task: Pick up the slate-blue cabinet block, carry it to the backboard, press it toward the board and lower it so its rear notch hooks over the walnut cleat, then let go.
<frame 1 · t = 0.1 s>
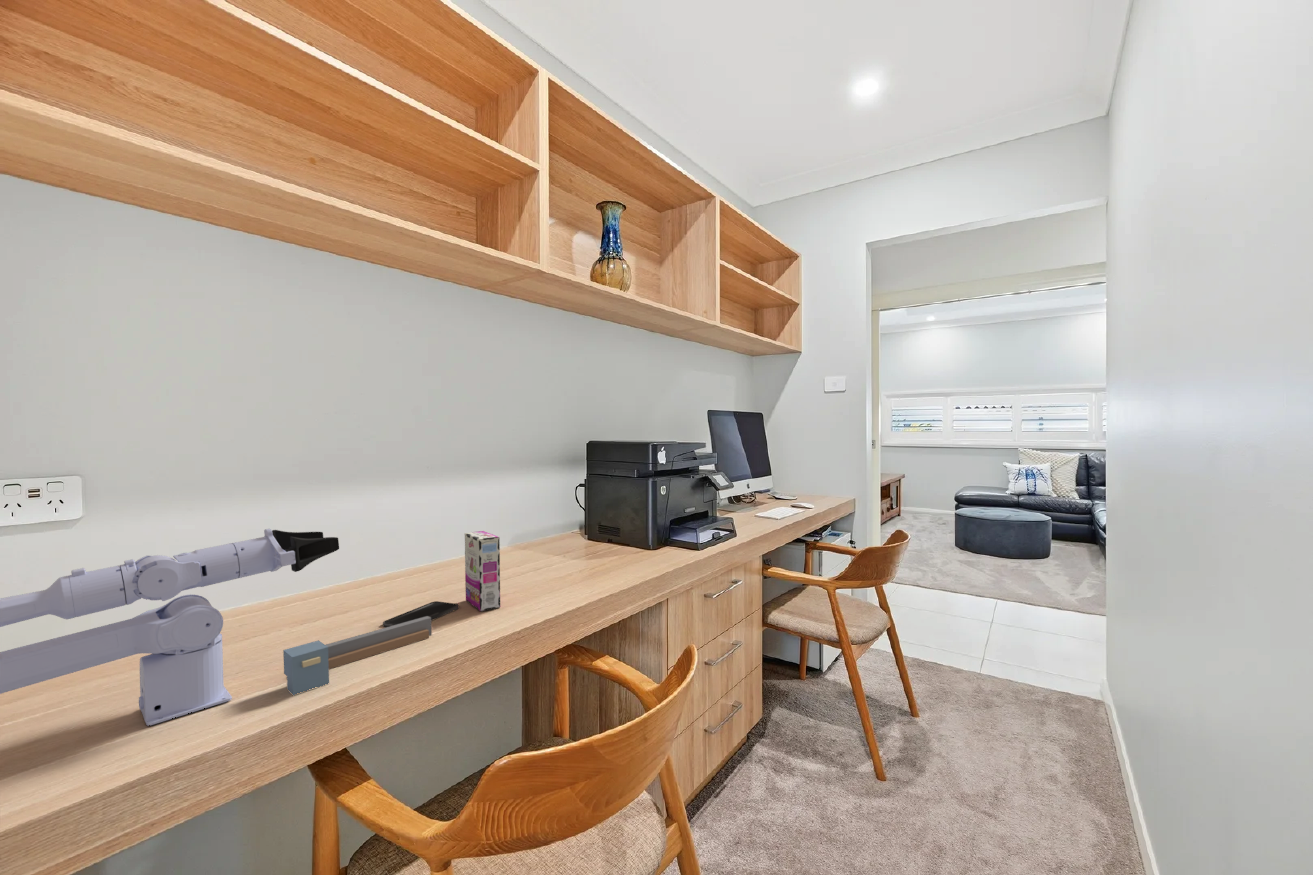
hand: (330, 540, 95), 22 cm above the table, tool horizontal, fingers open, 7 cm apart
cabinet: (306, 685, 86), on the table
phone: (422, 619, 118), on the table
candy bar box: (483, 604, 126), on the table
backboard: (377, 650, 100), on the table
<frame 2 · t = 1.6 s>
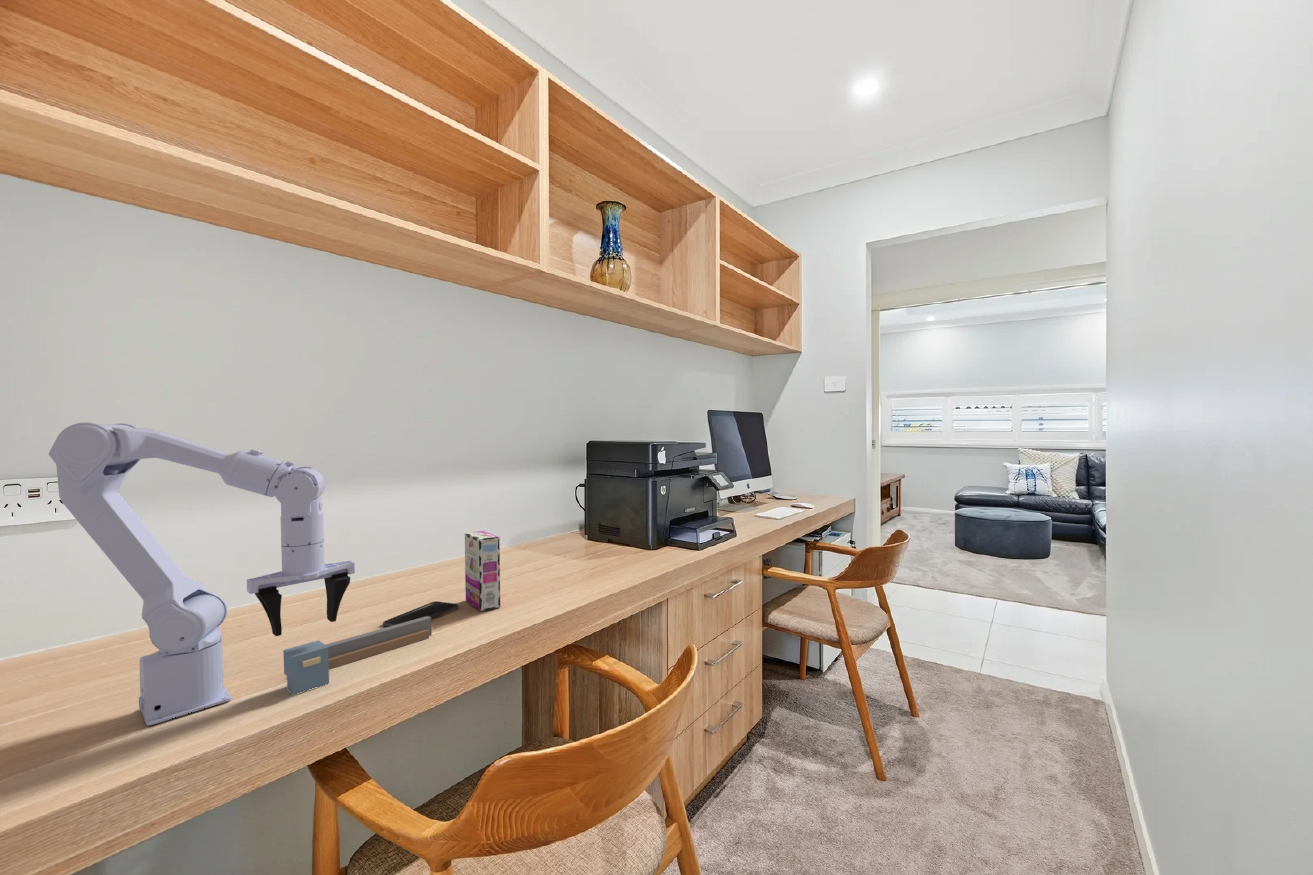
hand: (305, 627, 86), 9 cm above the table, tool pointing down, fingers open, 7 cm apart
nothing on the table moved.
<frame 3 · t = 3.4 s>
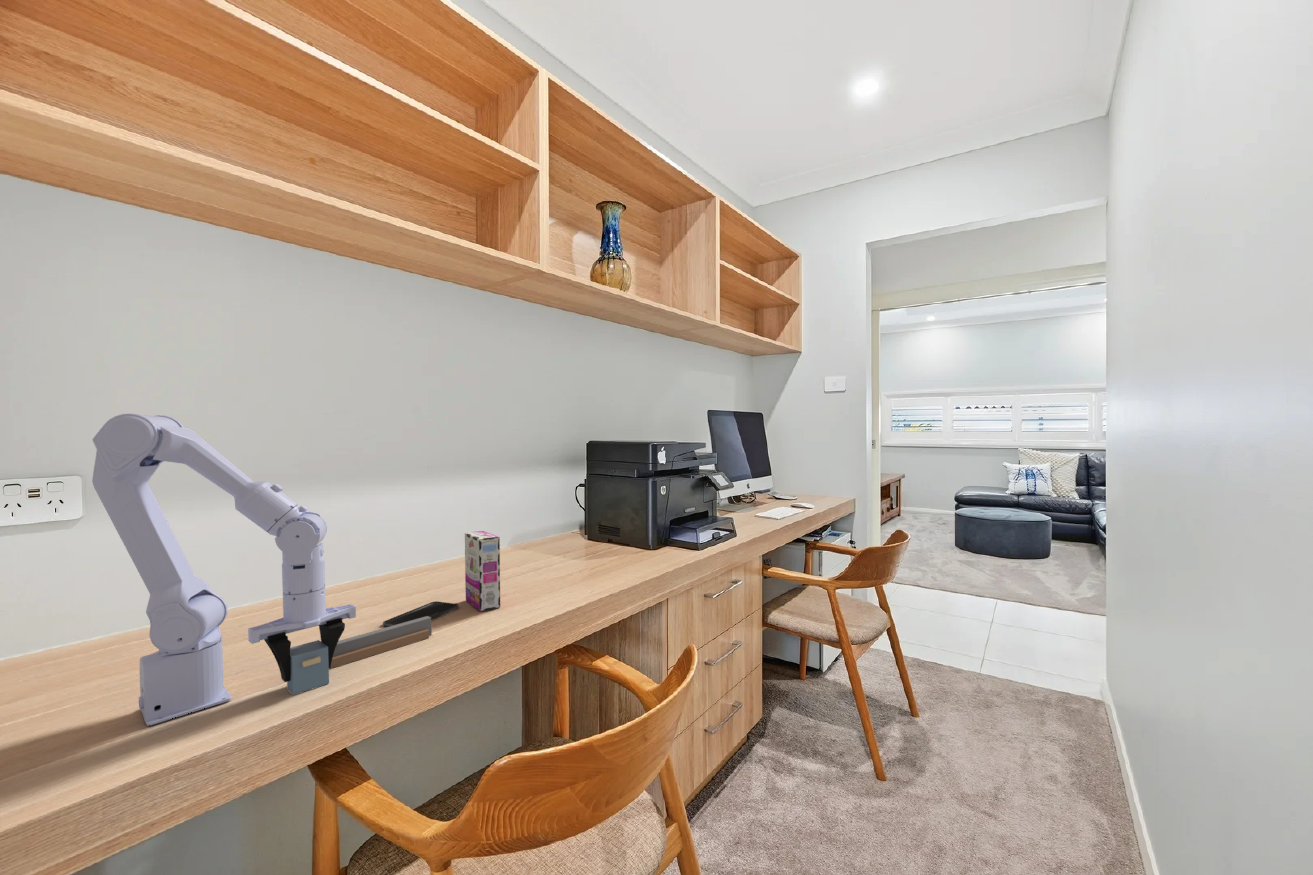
hand: (306, 673, 86), 2 cm above the table, tool pointing down, fingers closed on cabinet, 5 cm apart
cabinet: (306, 685, 86), on the table, touching gripper
everything else where it was.
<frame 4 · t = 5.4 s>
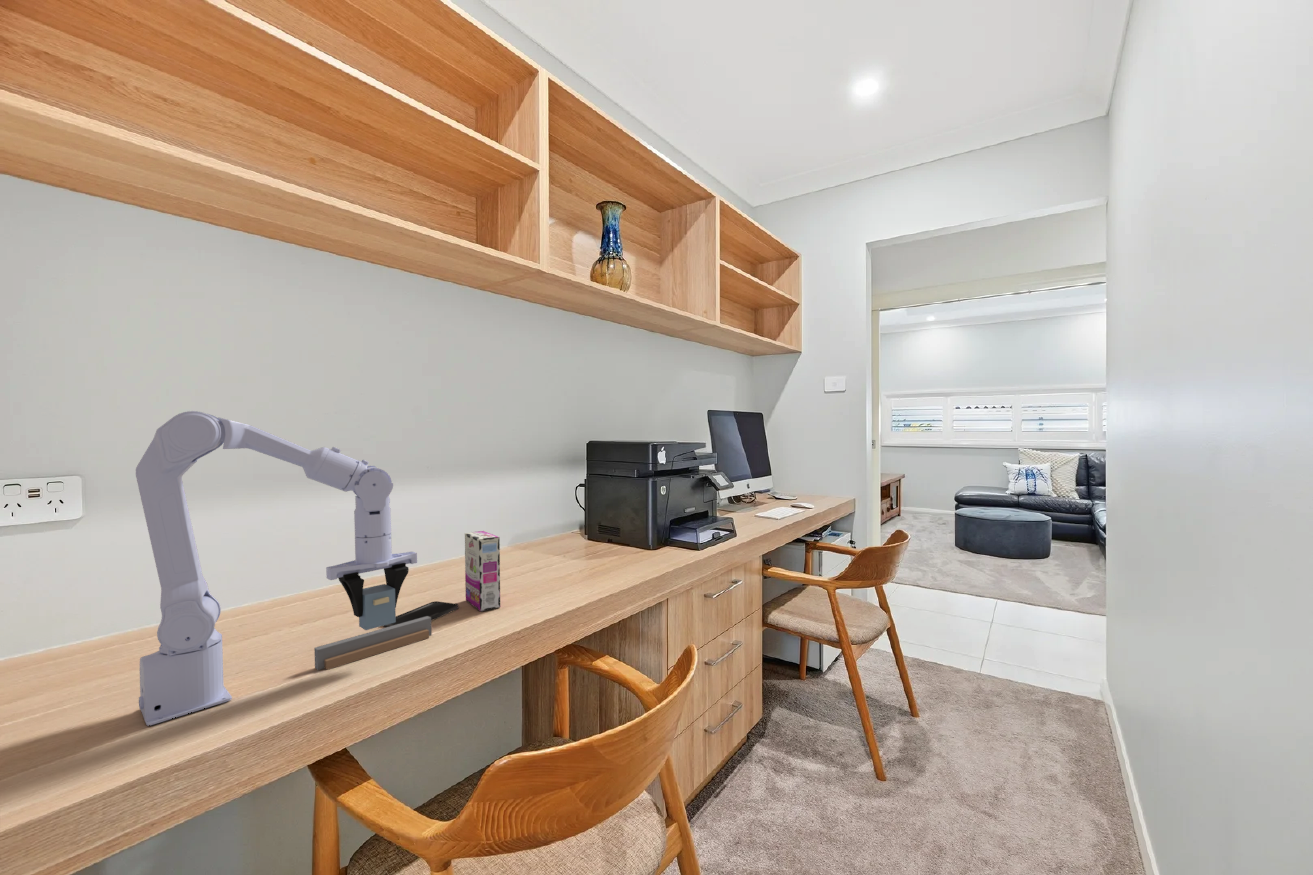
hand: (375, 611, 95), 9 cm above the table, tool pointing down, fingers closed on cabinet, 5 cm apart
cabinet: (375, 623, 95), point 7 cm above the table, touching gripper
everything else where it was.
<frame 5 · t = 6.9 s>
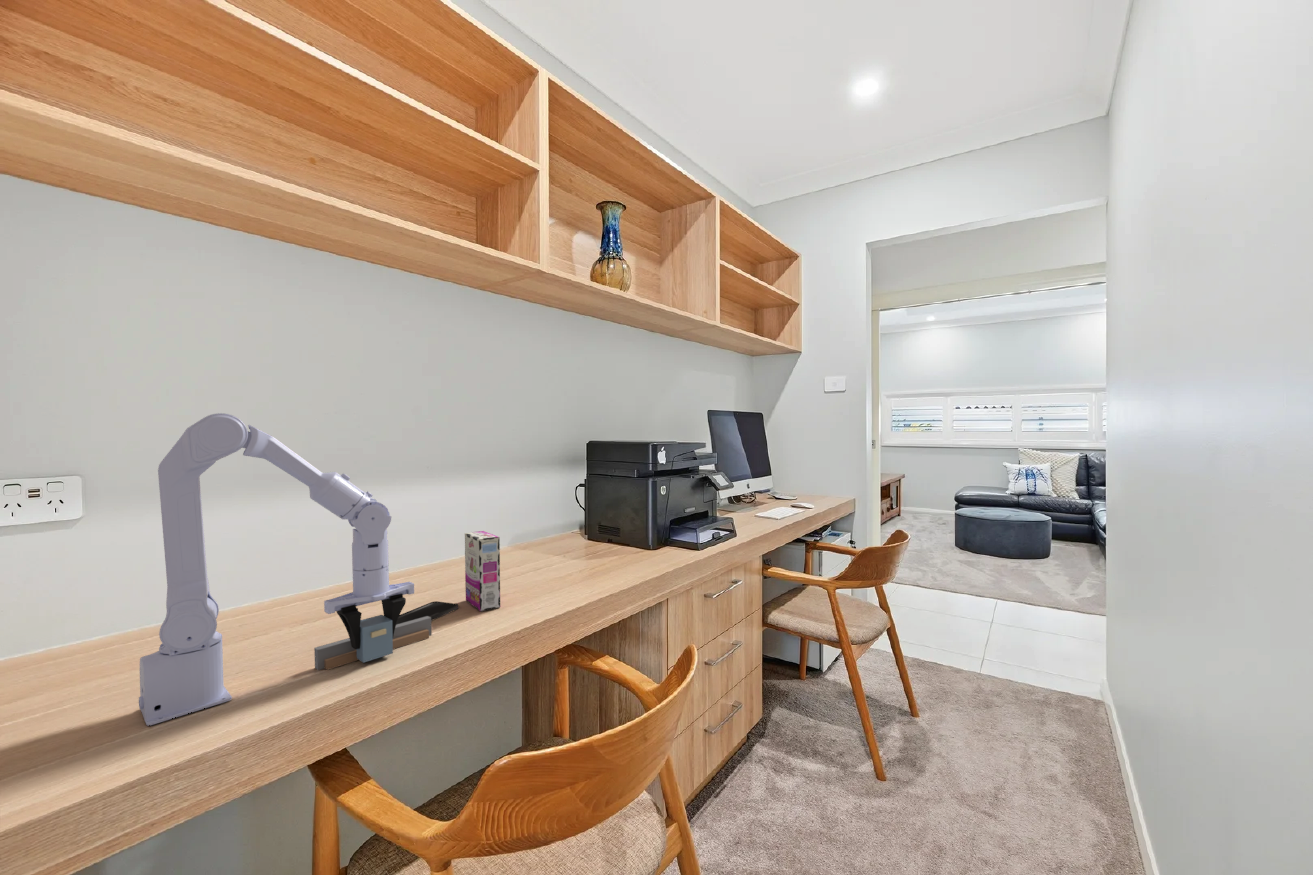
hand: (372, 642, 96), 3 cm above the table, tool pointing down, fingers closed on cabinet, 5 cm apart
cabinet: (373, 654, 96), point 1 cm above the table, touching gripper
everything else where it was.
when the fingers open (3 cm above the table, at t = 7.9 s): cabinet stays where it is, on the table.
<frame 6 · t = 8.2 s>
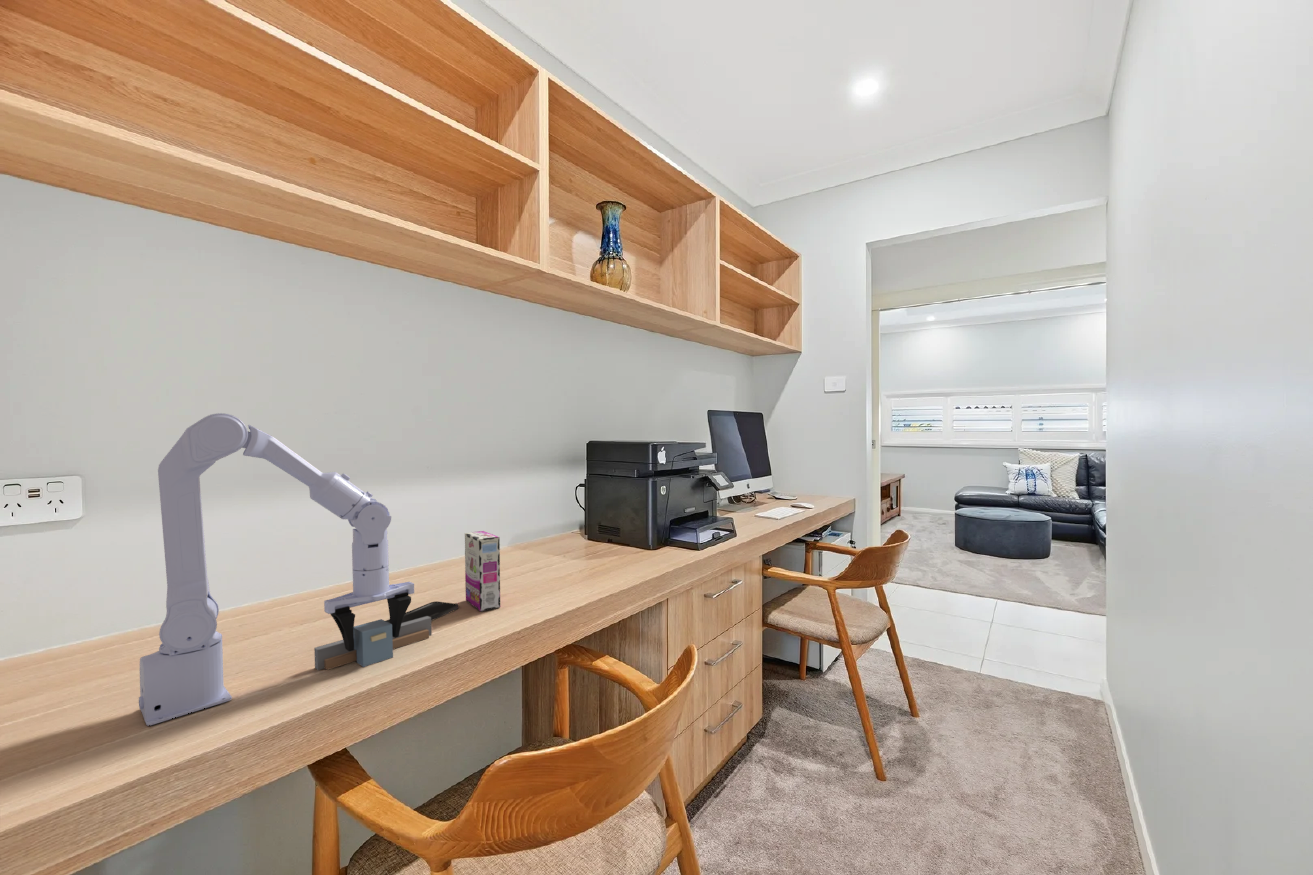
hand: (372, 642, 96), 3 cm above the table, tool pointing down, fingers open, 7 cm apart
cabinet: (373, 658, 96), on the table
everything else where it was.
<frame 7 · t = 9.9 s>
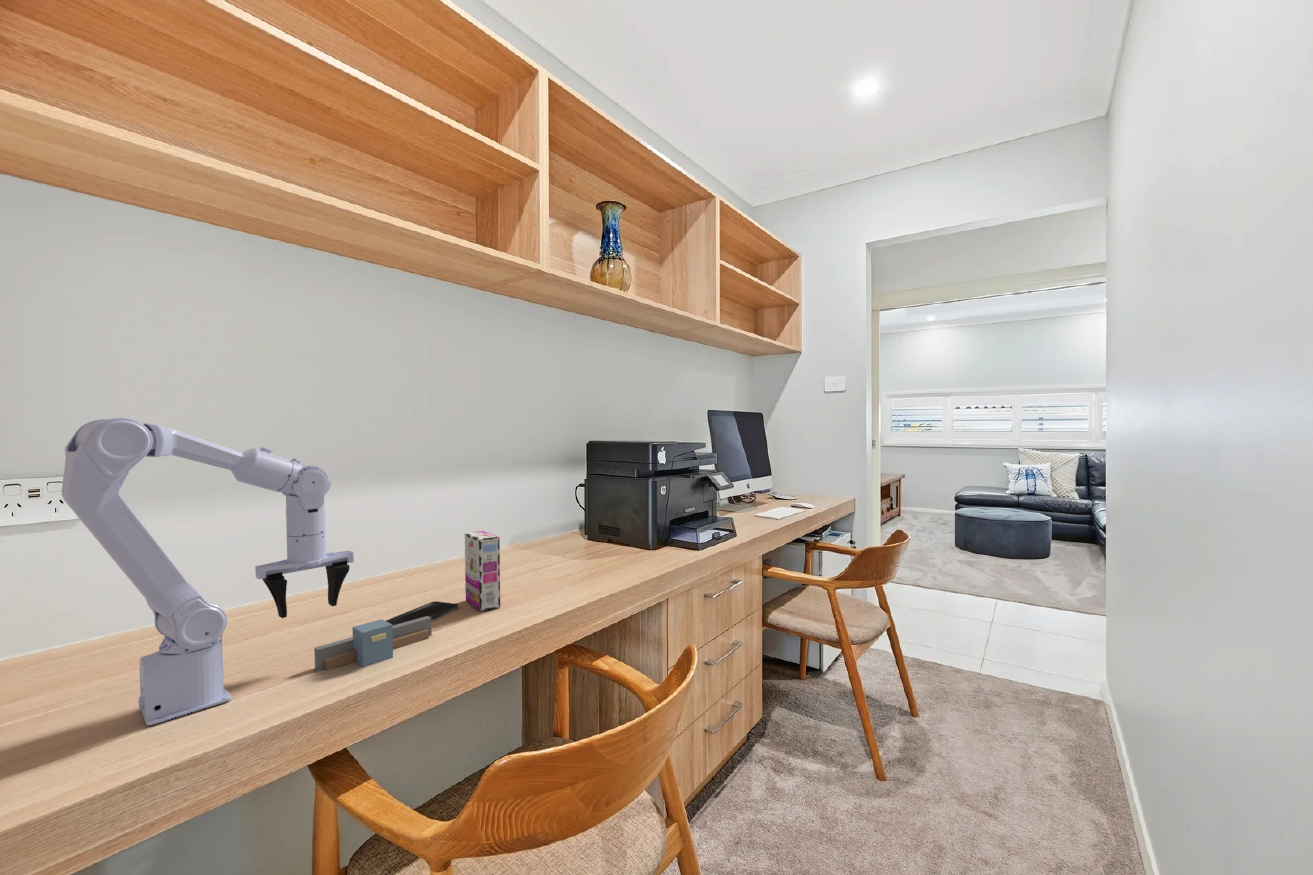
hand: (308, 610, 94), 9 cm above the table, tool pointing down, fingers open, 7 cm apart
nothing on the table moved.
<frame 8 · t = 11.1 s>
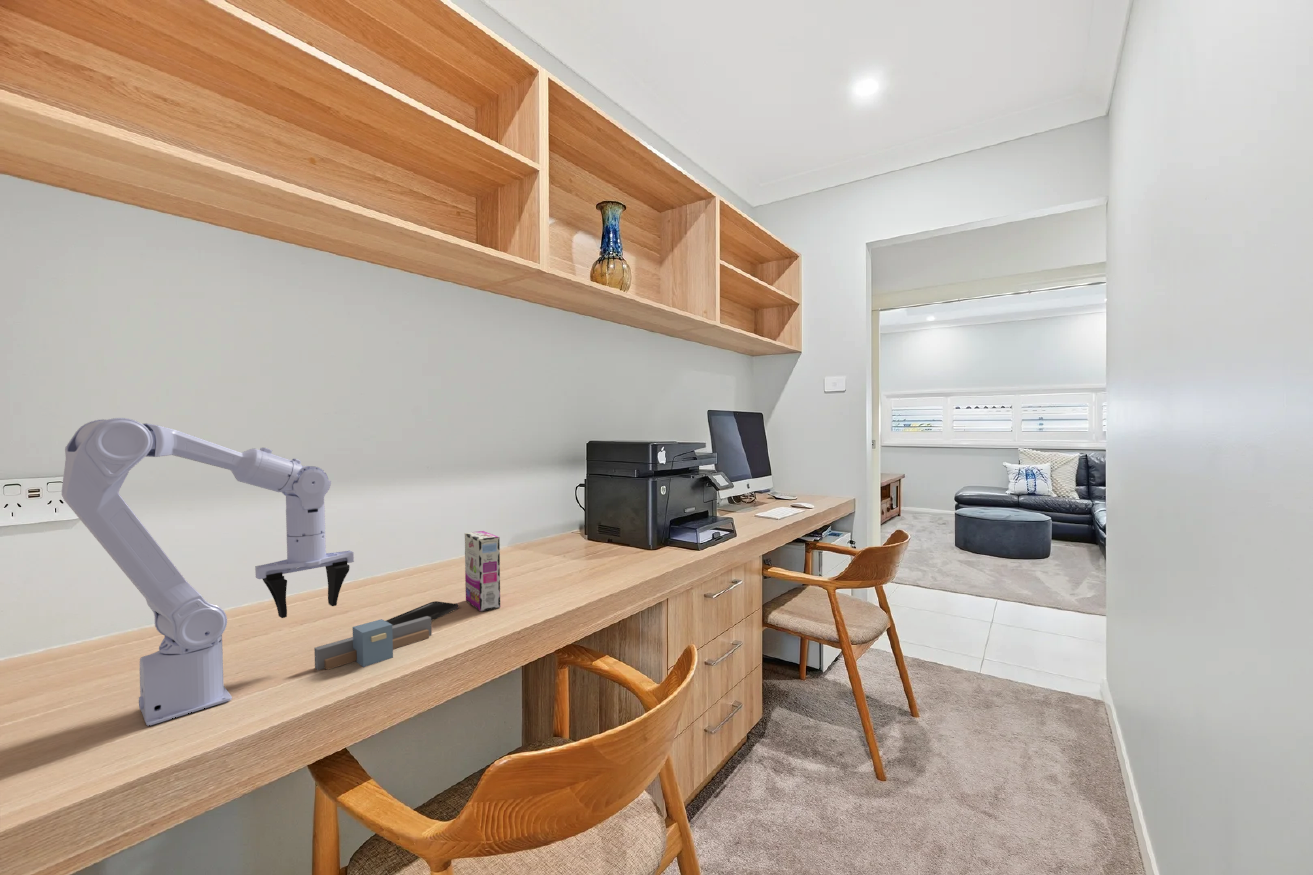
hand: (308, 610, 94), 9 cm above the table, tool pointing down, fingers open, 7 cm apart
nothing on the table moved.
at the end: cabinet 0.2 cm from the target spot on the table beside the backboard, on the table; cabinet tilted 0°; the gripper is holding nothing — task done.
